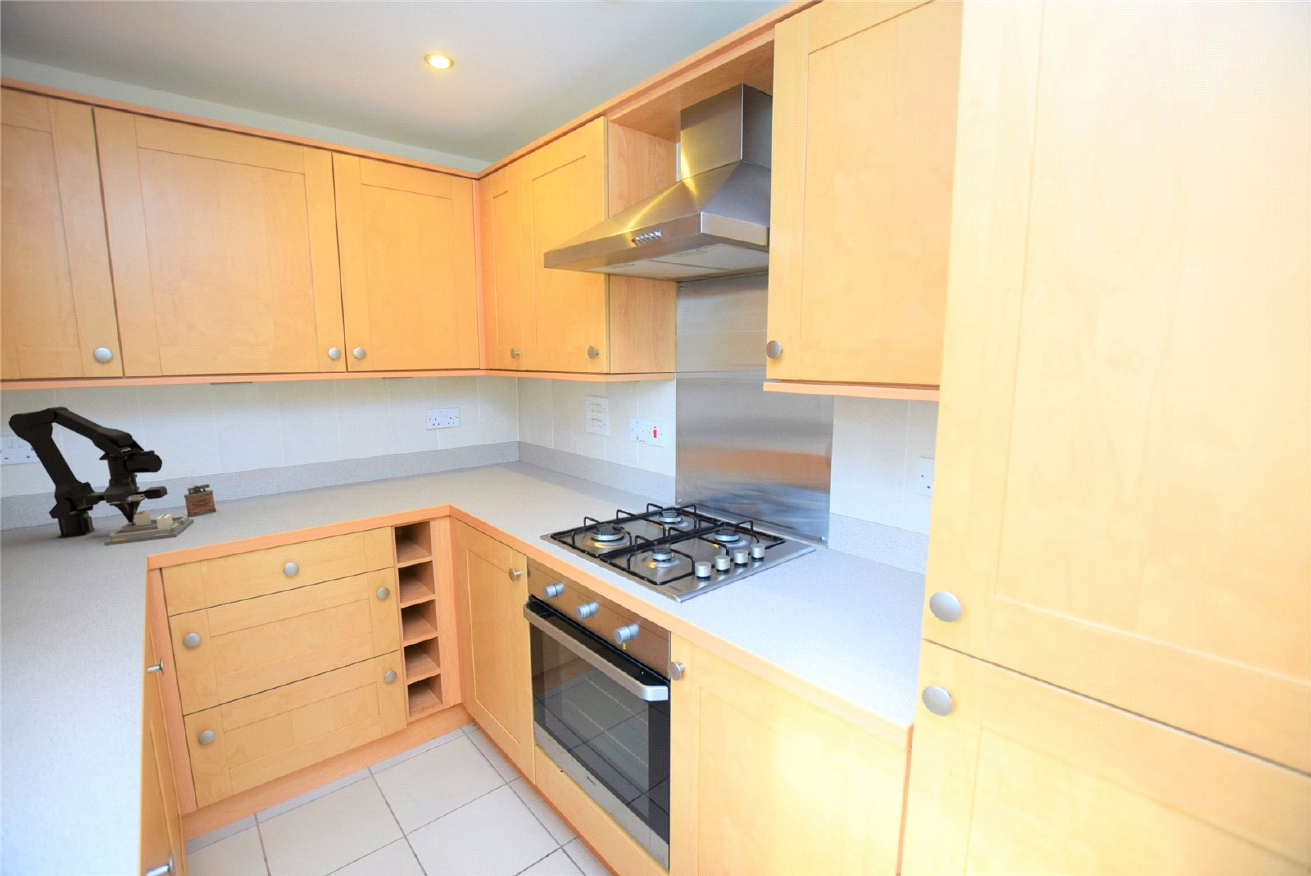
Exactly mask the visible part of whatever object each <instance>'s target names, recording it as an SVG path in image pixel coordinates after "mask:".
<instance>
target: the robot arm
mask: <svg viewBox="0 0 1311 876" xmlns="http://www.w3.org/2000/svg"><path fill="white" fill-rule="evenodd" d="M7 422H8V425H9V428H10V429H11V431H12V432H13V433H14V434H15V435H16V436H17V437H18V438H20V439H21V440H23V441H25V442H26V443H28V444H29V445H30V446H31V448H32V449H33V451H34V453H35V455H36V456H37V457H38V459H39V461H40V463H41V465H42V466H43V468H44V469H45V471H46V473H47V474H48V477H49V478H50V479H51V481H52V482H53V484H54V487H55V488H54V494H53V495H54V496H53V497H54V500H55V502H56V503H55V505H54V506H53V507H52V508H51V510H50V511H49V512H48V514H49V515H50V517H51V518H52V519H53V520H54V519H56V520H57V522H58V528H59V532H60V534H59V535H57V538H58V539H60V538H66V537H68V538H69V537H75V536H84V535H87V534H88V533H91V532H92V531H93V530H95V529H96V528H95V527H94V523H93V519H92V516H90V513H89V511H91V512H92V511H93V510H94V507H95V506H96V505H99V504H100V503H101V502H105V503H106V504H108V505H109V506H111V507H114V508H117V509H118V511H120V513H122V515H123V516H124V518H125V519H126V521H127V523H132V522H134V521H135V518H134V515H135V514H137V513H138V512H137V511H138V509H139V507H140V504H141V502H143V501H145V500H146V499H147V500H157V499H162V498H163V497H165V496H167V495H168V494H169V493H168V488H167V487H166V486H165V485H159V486H150V487H149V488H147V489H145V490H140V486H138V482H137V478H138V474H151V473H153V474H154V473H158V472H159V471H160V470H161V469H162V467H163V460H162V459H161V457H160V456H159V455H158V454H157V453H156V452H155V450H154V449H153V450H152V449H151V450H149V449H148V450H145V449H144V448H143V447H142V446H141V445H140V444H139V442H137V441H136V440H135V438H133V435H132V434H131V433H129V432H127V431H124V430H121V429H118V428H112V427H111V428H110V427H106V426H102V425H101V424H98V423H96V422H94V421H92V420H90V419H88V418H85V417H83V416H81V415H79V414H77V413H75V412H73V411H71V410H69V408H67V407H65V406H53V407H52V406H51V407H48V408H45V409H41V410H36V411H28V412H22V413H21V412H19V413H15V414H13V415H11V416H10V417H9V421H7ZM54 423H55V424H57V425H59V426H61V427H63V428H65V429H67V430H70V431H72V432H74V433H76V434H78V435H81V436H82V437H85V438H86V439H88V440H90V441H91V442H92V444H93V446H94V447H96V448H98V449H99V450H100V451H102V452H103V453H102V455H101V456H100V457H98V460H99V461H107V467H108V472H109V478H110V479H108V486H107V487H106V488H105V490H104V491H97V492H96V491H95V490H94V489H93V488H92V485H91V483H90V482H89V481H86V482H82V481H80V480H79V479H77V478H76V476H75V474H74V472H73V471H72V469H71V468H70V466H69V464H68V462H67V460H66V459H65V457H64V456H63V454H62V452H61V450H60V449H59V448H58V446H57V444H56V442H55V441H54V438H53V432H54V431H53V430H54V426H53V424H54Z"/></svg>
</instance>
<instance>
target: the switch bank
mask: <svg viewBox="0 0 1311 876" xmlns="http://www.w3.org/2000/svg"><path fill="white" fill-rule="evenodd" d="M156 519H157V518H154V519H153V518H151V523H152V524H145V525H136V524H135V520H134V522H132V523H129V522H127V523H125V524H123V525H122V526H121V528H120V529H117V530H114V531H113V532H112V533H110V534H109V535H108V537H109V538H108V539H107V540H105V541H104V544H103V545H104V546H110V545H119V544H126V543H127V544H128V543H134V542H135V543H136V542H144V541H145V542H146V541H153V540H159V539H160V540H161V539H169V538H176V537H178V536H179V535H181V533H183V532H184V531H185V530H187V529H188V528H189V527H190V526H191V525H192V524H193V523H194V522H195V521H194V520H195V519H194V518H190V517H188V516H187V515H182V516H181V515H180V516H179V515H178V516H172V521H173V526H172V527H171V528H166V529H158V526H157V520H156ZM182 531H183V532H182Z"/></svg>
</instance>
